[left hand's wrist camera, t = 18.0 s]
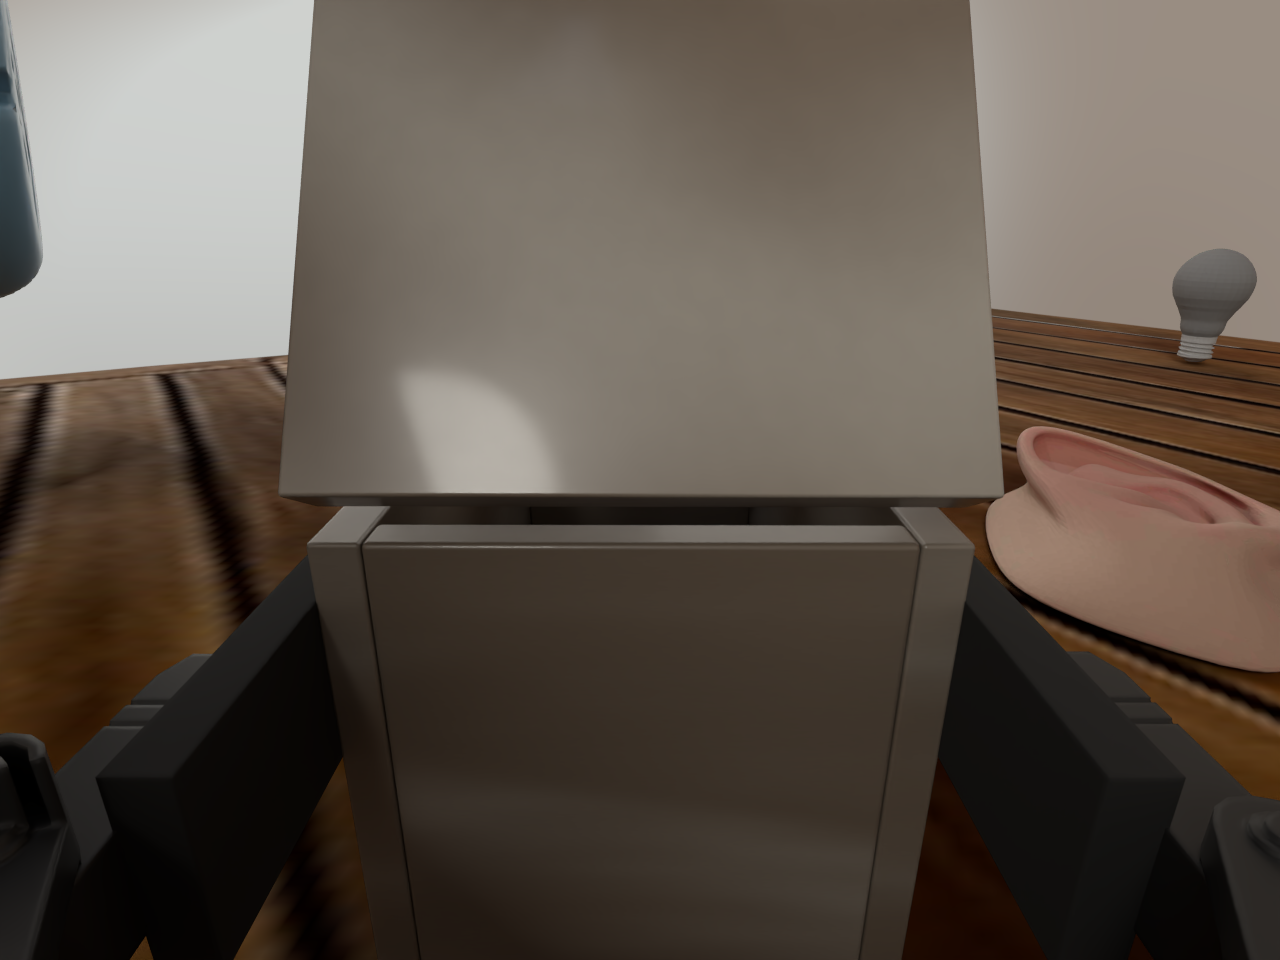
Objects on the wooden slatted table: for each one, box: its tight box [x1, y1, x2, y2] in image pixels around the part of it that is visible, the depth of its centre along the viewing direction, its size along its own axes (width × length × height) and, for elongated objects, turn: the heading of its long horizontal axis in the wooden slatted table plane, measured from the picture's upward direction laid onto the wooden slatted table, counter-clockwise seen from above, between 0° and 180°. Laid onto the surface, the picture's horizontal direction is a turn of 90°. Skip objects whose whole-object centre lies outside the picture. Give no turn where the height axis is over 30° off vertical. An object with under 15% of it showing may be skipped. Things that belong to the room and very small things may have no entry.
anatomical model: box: [986, 426, 1280, 673], centre depth 29 cm, size 13×4×12 cm
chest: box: [307, 506, 975, 960], centre depth 19 cm, size 16×9×9 cm, turn 0°
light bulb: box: [1172, 249, 1257, 362], centre depth 67 cm, size 6×6×10 cm
